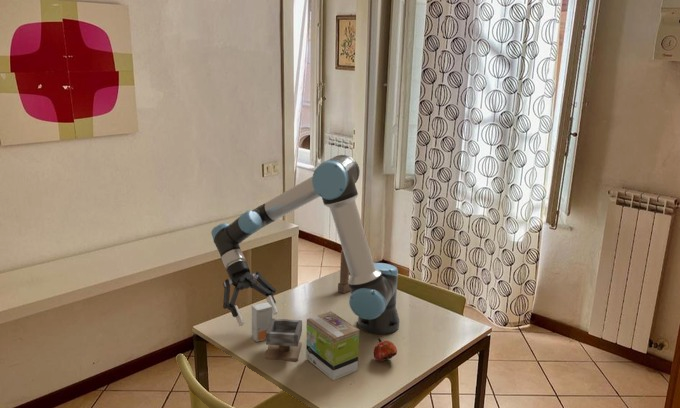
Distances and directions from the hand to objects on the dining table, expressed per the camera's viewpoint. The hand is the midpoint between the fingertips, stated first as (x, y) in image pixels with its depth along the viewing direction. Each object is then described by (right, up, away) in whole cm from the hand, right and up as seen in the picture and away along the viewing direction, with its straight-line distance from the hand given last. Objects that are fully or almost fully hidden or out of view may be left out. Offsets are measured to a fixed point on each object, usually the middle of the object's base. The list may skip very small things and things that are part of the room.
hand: (259, 319), depth 188 cm
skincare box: (+1, -7, +1) cm, 7 cm away
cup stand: (+9, -9, -7) cm, 15 cm away
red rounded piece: (+42, -12, -11) cm, 45 cm away
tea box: (+25, -12, -14) cm, 31 cm away
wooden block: (+32, +3, +43) cm, 54 cm away
